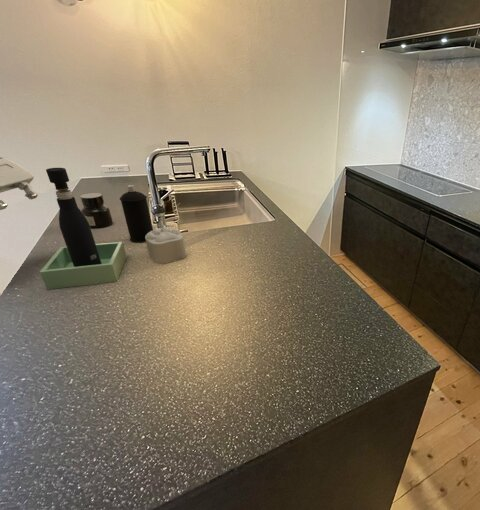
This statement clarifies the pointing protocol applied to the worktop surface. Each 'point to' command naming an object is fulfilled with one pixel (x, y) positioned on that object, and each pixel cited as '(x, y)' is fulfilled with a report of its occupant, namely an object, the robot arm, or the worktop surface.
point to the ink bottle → (96, 210)
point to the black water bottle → (73, 222)
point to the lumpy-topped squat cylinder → (165, 245)
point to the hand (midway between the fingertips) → (20, 202)
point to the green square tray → (84, 267)
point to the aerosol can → (136, 214)
